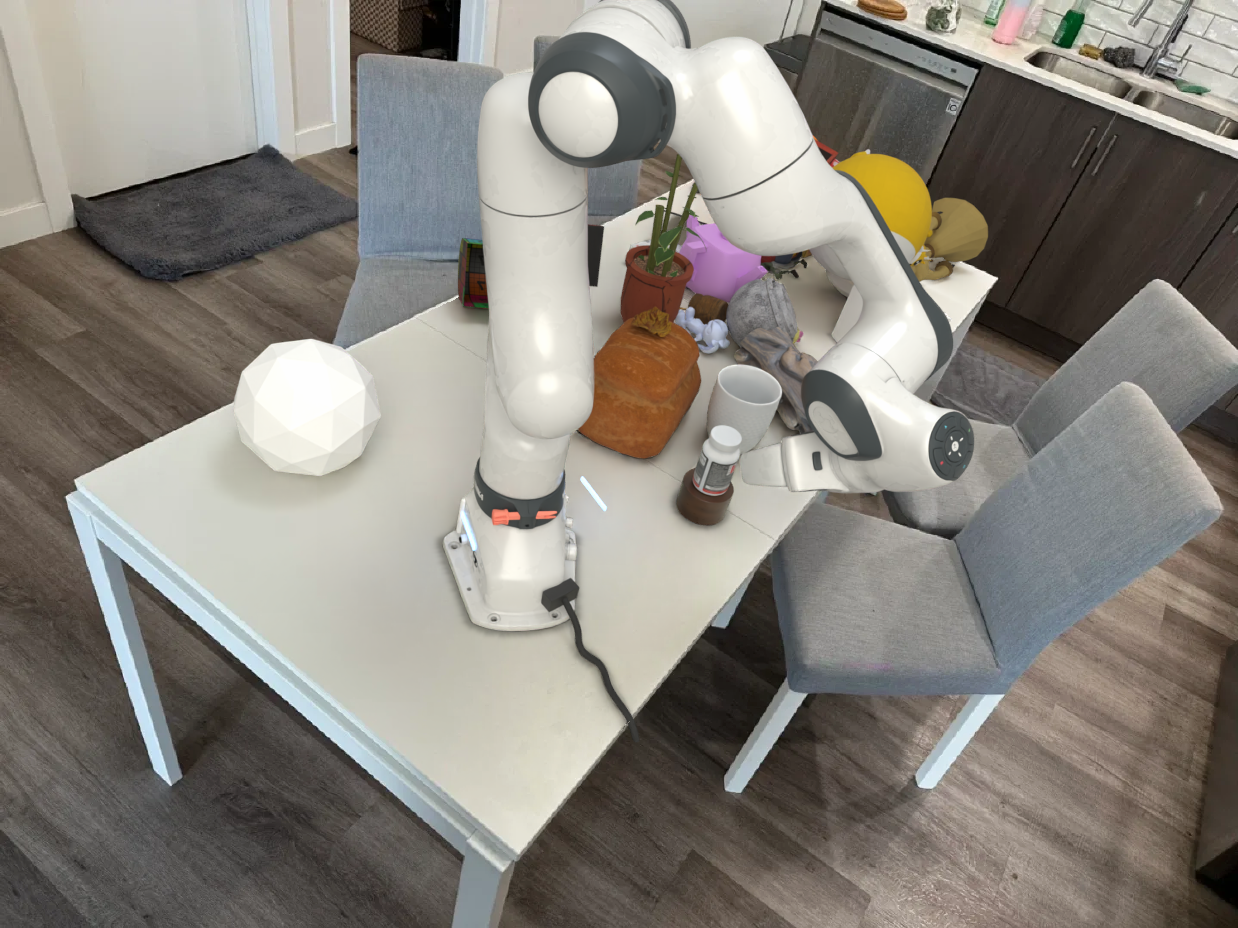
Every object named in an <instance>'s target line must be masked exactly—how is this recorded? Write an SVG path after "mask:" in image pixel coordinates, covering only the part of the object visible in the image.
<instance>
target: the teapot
mask: <svg viewBox="0 0 1238 928" xmlns="http://www.w3.org/2000/svg"><path fill="white" fill-rule="evenodd" d="M698 218H699V217H695V218H694V217H693V216H691V215H690V214H689V218H688V219H687V221H686V228H690V229H691V230H692V231H694V232H695V233H697V234H698V235H699V237H700V238H701V239H702V240H701V239H700V238H699V237H698V236H695V235H693V234H691V233H689V232H688V231H686V238H685V240H684V242H683V244H682V245H681V246H682V247H681V249H680V252H679V253H680V254H681V255H683V256H685V257H686V258H687V259H688V260H689V261H690V262H691V263H692V265H693V268H694V271H693V275H692V278H691V279H690V281H689V282H687V284H686V289H687V288H688V289H689V290H690V291H692V293H695V294H696V293H699V294H702V295H703V296H704V295H710V296H713V297H716V298H719V299H721V300H724V301H726V302H727V303H728V304H729V302H730V300H731V298H732V296H733V295H734V294H735V292H736V291H737V290H738V289H739V288H741V287H742V286H743V285H745V284H746V283H748V282H751V281H753V280H757V279H763V277H765V276H766V274H768V273H769V272H768V271H767V270H766V269H765V268H764V267H763V266H761V255H755V254H751V253H748V252H745V251H743V250H741V249H739V248H737V247H735V246H734V245H732V244H731V243H730V242H729V241H728V240H727V239H726V238H725V237H724V236H723V234H722V233H721V232H720V230H719V229H718V227H717V226H716V224H715V222H713V223H707V224H705V225H703V224H700V223H699V222H698V221H699V219H698ZM702 241H703V242H704V244H705V246H704V244H703V242H702ZM705 247H706V248H705ZM706 250H707V251H706Z"/></svg>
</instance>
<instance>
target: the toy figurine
mask: <svg viewBox="0 0 1238 928" xmlns="http://www.w3.org/2000/svg"><path fill="white" fill-rule="evenodd" d="M694 315H695V309H694V308H692V307H689V308H688V307H687V309H686V310H682V309H680V310H679V312H678V315H677V317H676V319H675V321H674V323H675V324H677V325H679V326H681V327H682V328H684V329H685V330H686V328H687V331H688V332H689V334H690V335H691V333H692V334H694V335H695V337H693V338H694V340H695V341H696V342H700V341H704V343H705V344H706V345H707V346H706V345H703V344H701V343H697V345H698V347H699V351H701V352H703V354H707V355H709V354H713V353H716V352H717V351H718V350H719V349H721V350H724V349H727V348H728V347H729V346H730V345H731V342H730V340H728V339H727V336H728V334H729V331H728V327H727V323H725V322H723V321H721V320H714V321H713V320H712V321H709V322H708V325H707V324H705V325H704V324H703V323H702V321H701V320H700V319H697V318H696V319H695V318H694Z"/></svg>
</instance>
